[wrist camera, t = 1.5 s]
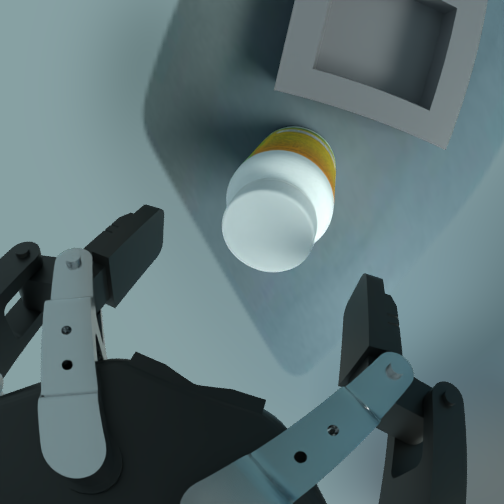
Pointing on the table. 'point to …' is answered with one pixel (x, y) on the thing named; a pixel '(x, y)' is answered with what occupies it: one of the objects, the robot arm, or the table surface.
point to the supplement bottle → (280, 200)
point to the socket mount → (385, 59)
